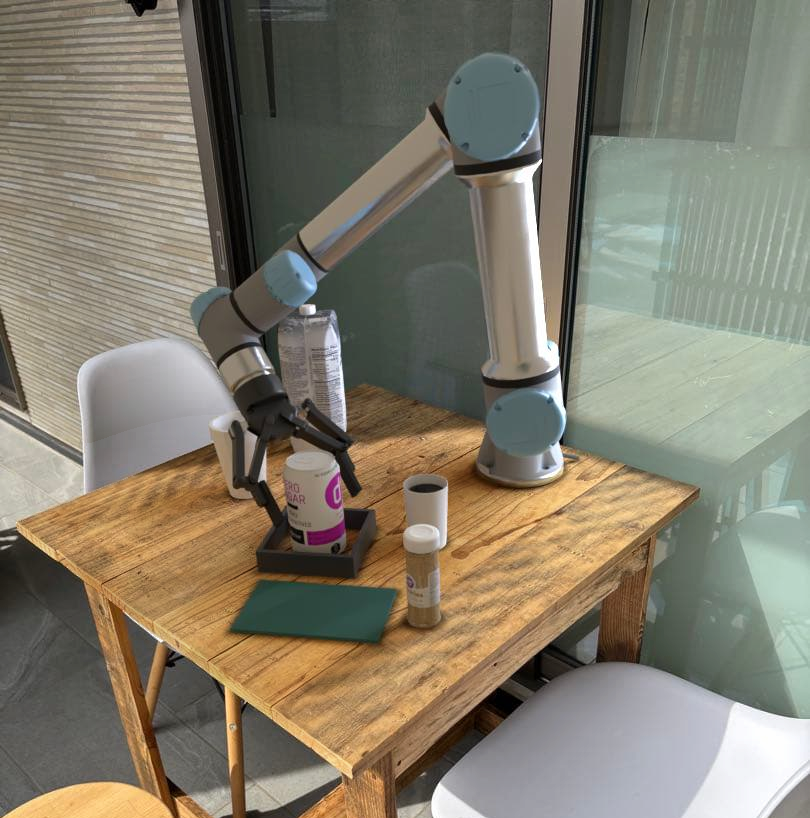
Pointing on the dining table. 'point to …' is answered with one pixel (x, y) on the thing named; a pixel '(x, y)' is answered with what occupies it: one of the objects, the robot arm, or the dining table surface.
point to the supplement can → (314, 502)
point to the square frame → (318, 562)
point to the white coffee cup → (427, 502)
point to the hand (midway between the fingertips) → (320, 508)
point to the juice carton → (312, 365)
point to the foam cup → (224, 450)
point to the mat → (316, 611)
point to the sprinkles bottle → (422, 575)
